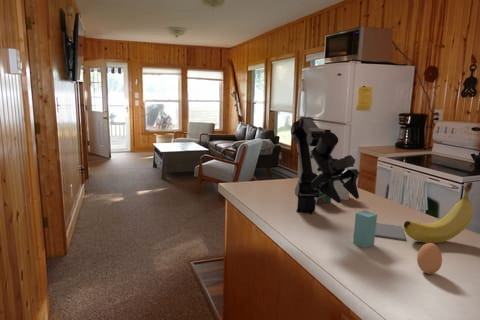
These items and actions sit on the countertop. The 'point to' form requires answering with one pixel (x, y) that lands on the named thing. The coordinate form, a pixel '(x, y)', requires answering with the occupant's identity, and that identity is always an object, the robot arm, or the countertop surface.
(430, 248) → the egg
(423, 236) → the banana
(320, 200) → the coffee box
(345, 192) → the supplement box
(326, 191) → the robot arm
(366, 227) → the teal block
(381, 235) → the slate mat
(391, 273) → the countertop surface
